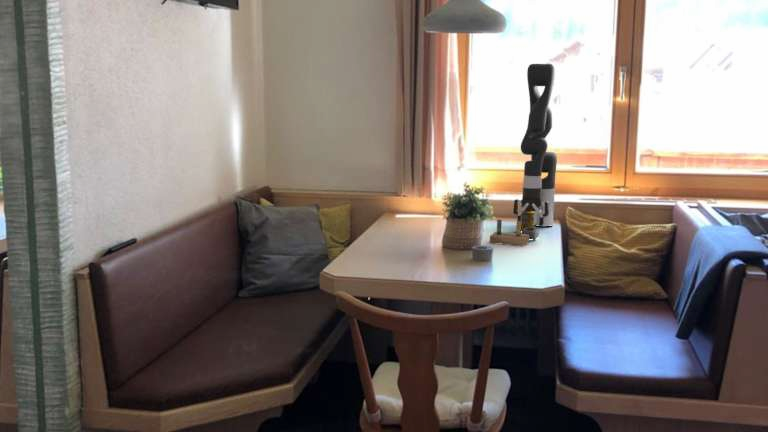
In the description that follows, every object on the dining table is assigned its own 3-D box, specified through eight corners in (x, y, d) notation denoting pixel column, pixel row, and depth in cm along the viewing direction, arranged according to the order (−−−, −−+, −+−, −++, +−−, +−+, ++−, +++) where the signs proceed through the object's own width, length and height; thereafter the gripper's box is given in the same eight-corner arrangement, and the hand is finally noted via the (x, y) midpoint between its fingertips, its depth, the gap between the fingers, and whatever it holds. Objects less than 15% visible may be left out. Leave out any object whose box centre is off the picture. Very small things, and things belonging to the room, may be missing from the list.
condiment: (537, 232, 347) (538, 204, 344) (525, 234, 341) (527, 207, 339) (523, 229, 352) (525, 202, 350) (512, 232, 346) (513, 204, 344)
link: (525, 236, 337) (525, 227, 337) (538, 237, 335) (539, 228, 334) (521, 239, 330) (521, 230, 329) (534, 241, 328) (535, 231, 327)
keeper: (495, 238, 331) (496, 217, 330) (529, 241, 326) (530, 220, 325) (489, 243, 323) (490, 221, 322) (524, 246, 318) (525, 223, 316)
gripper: (551, 186, 329) (549, 225, 332) (517, 184, 335) (515, 222, 337) (547, 188, 323) (545, 228, 325) (512, 186, 328) (511, 225, 330)
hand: (530, 225), depth 331 cm, fingers open, 8 cm apart
